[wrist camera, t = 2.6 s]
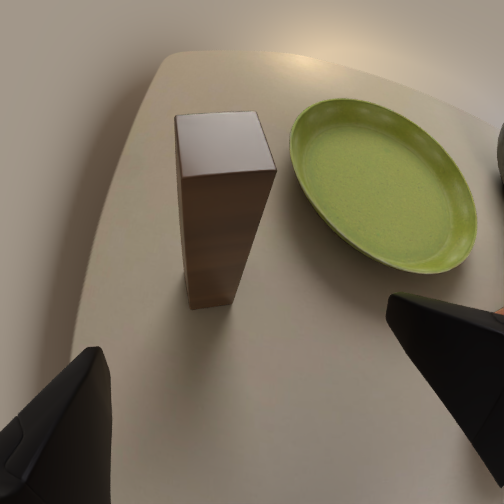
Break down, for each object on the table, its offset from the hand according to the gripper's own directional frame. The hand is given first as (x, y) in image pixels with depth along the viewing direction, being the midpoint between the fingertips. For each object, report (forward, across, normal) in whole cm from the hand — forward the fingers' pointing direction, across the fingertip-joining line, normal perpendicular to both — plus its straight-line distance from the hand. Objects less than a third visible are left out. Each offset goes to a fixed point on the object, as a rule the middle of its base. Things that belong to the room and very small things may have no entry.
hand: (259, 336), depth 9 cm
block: (+13, 0, +5) cm, 14 cm away
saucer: (+18, -18, 0) cm, 26 cm away
